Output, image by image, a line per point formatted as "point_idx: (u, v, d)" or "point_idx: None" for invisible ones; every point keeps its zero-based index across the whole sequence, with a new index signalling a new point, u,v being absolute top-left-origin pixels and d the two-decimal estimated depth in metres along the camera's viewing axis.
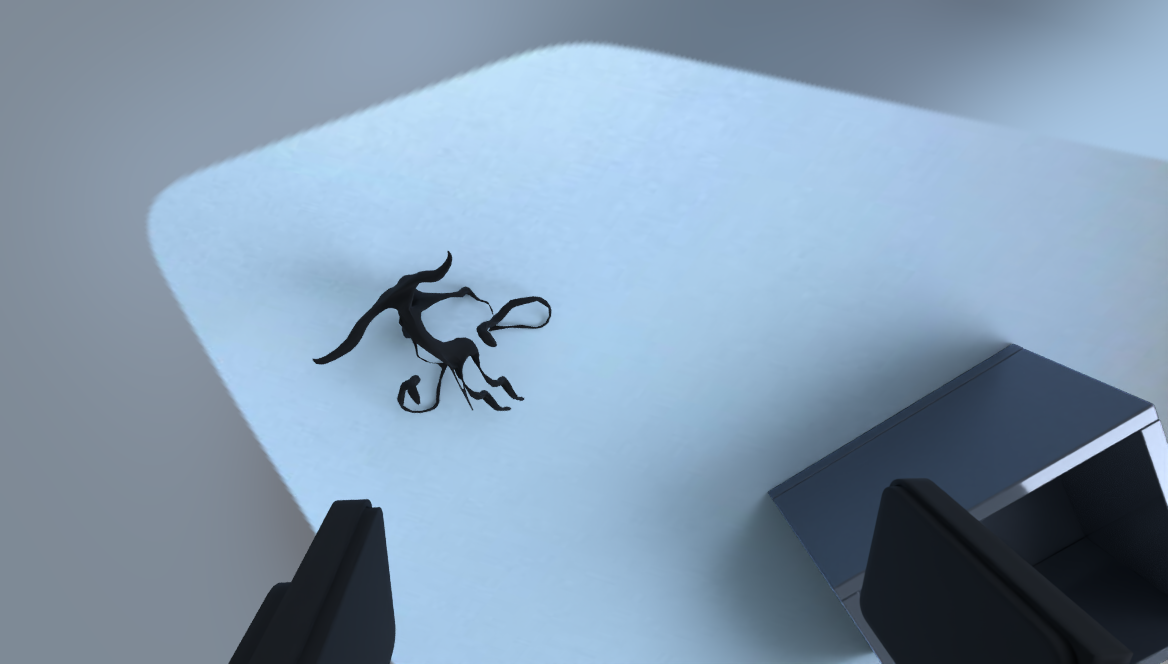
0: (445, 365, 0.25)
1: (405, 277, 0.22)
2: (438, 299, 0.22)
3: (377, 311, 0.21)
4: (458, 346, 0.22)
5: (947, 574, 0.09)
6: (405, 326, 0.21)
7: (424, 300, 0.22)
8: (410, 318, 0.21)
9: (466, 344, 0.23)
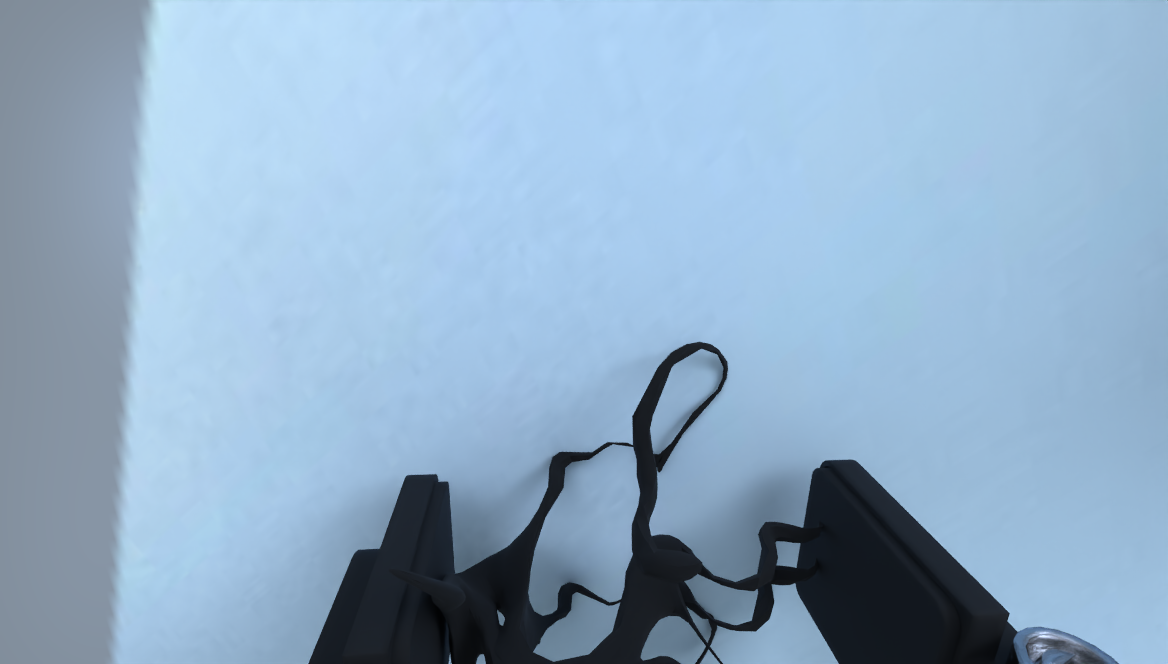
0: None
1: None
2: (528, 555, 0.10)
3: None
4: (642, 593, 0.09)
5: (862, 547, 0.09)
6: None
7: (511, 581, 0.10)
8: None
9: None
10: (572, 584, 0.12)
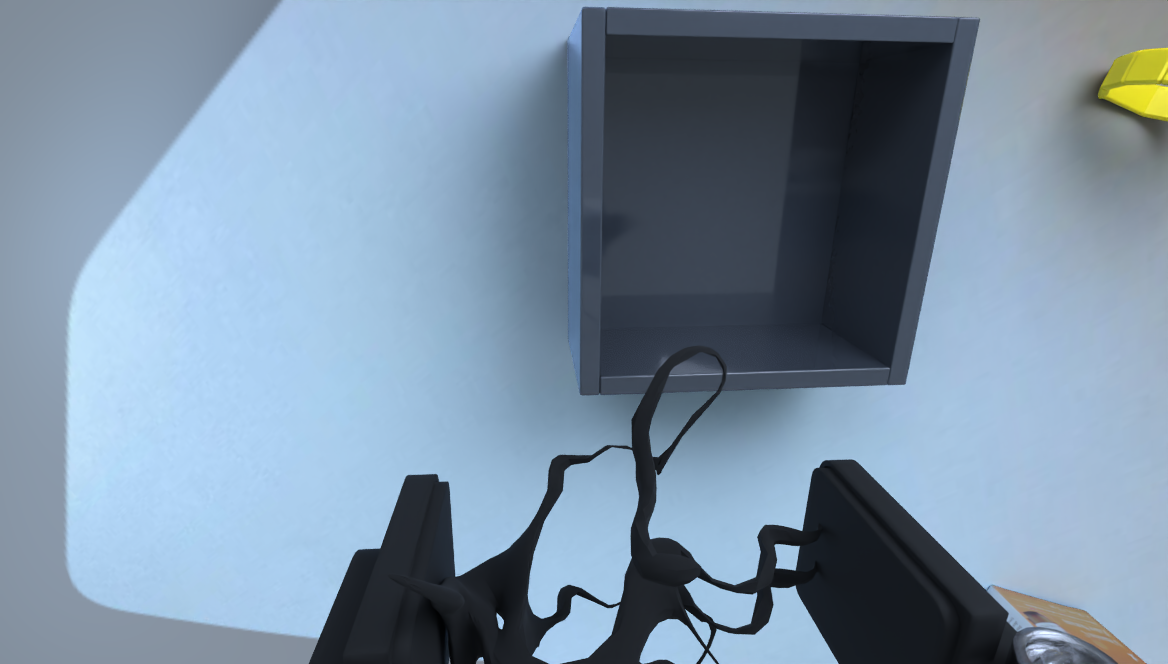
0: None
1: None
2: (528, 558, 0.10)
3: None
4: (641, 596, 0.09)
5: (861, 547, 0.09)
6: None
7: (511, 585, 0.10)
8: None
9: None
10: (572, 587, 0.12)
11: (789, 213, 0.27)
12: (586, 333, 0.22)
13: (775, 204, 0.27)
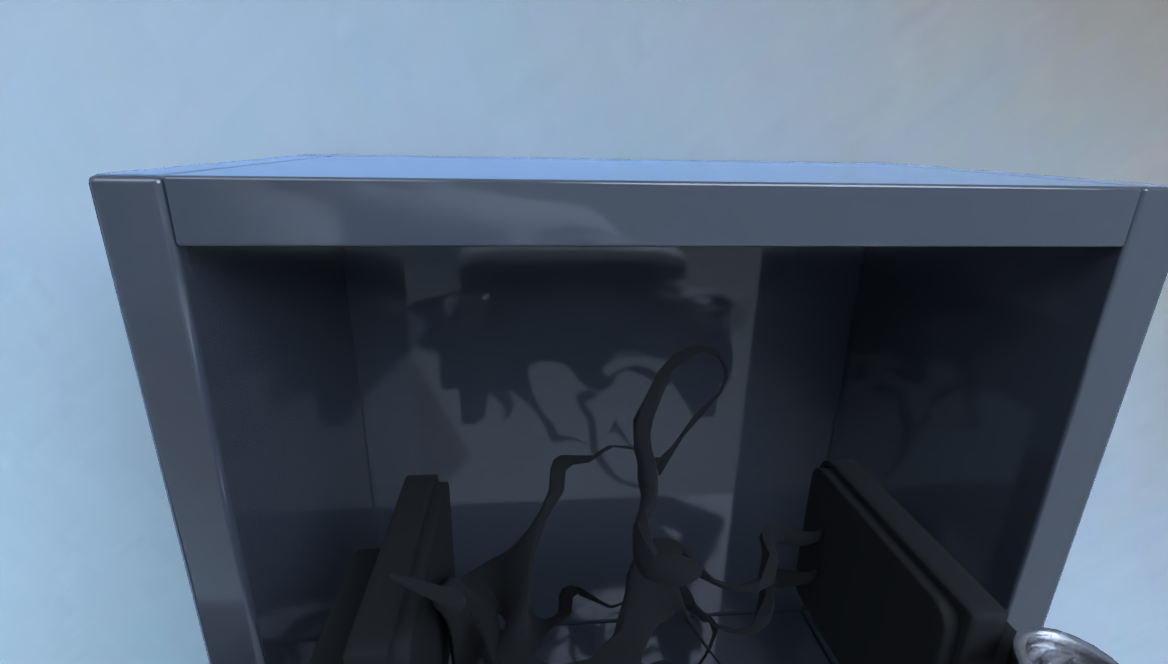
0: None
1: None
2: (529, 558, 0.10)
3: None
4: (643, 596, 0.09)
5: (861, 547, 0.09)
6: None
7: (512, 585, 0.10)
8: None
9: None
10: (573, 587, 0.12)
11: (744, 450, 0.15)
12: None
13: (719, 437, 0.15)
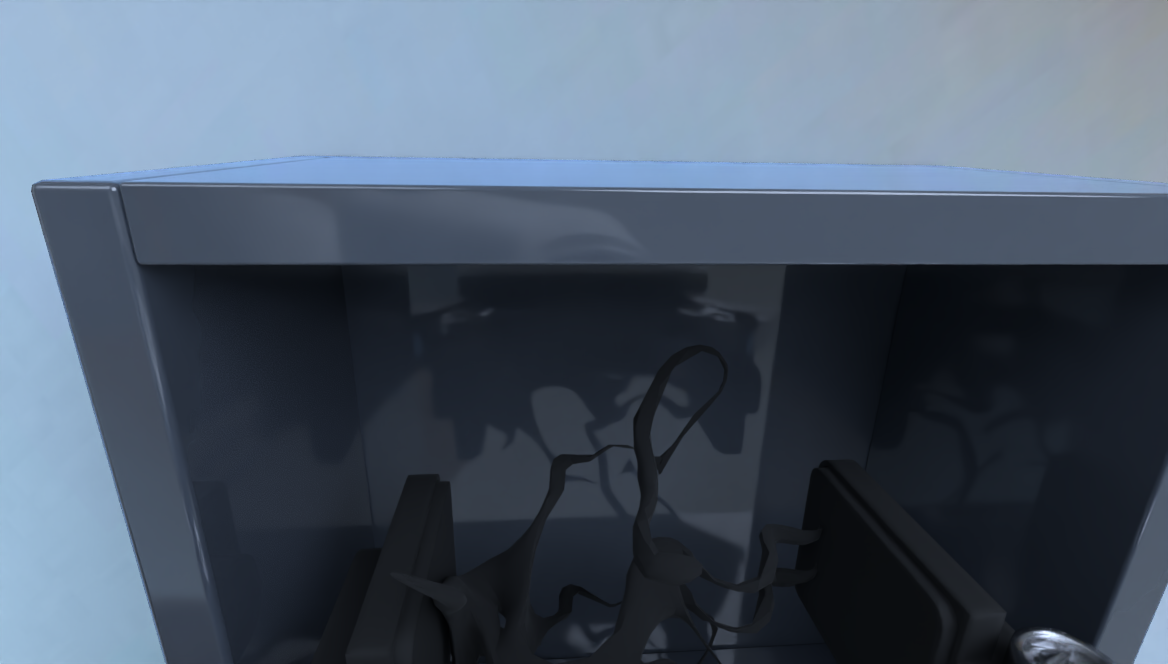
0: None
1: None
2: (529, 557, 0.10)
3: None
4: (642, 594, 0.09)
5: (860, 547, 0.09)
6: None
7: (512, 584, 0.10)
8: None
9: None
10: (573, 586, 0.12)
11: (772, 473, 0.14)
12: None
13: (745, 459, 0.14)
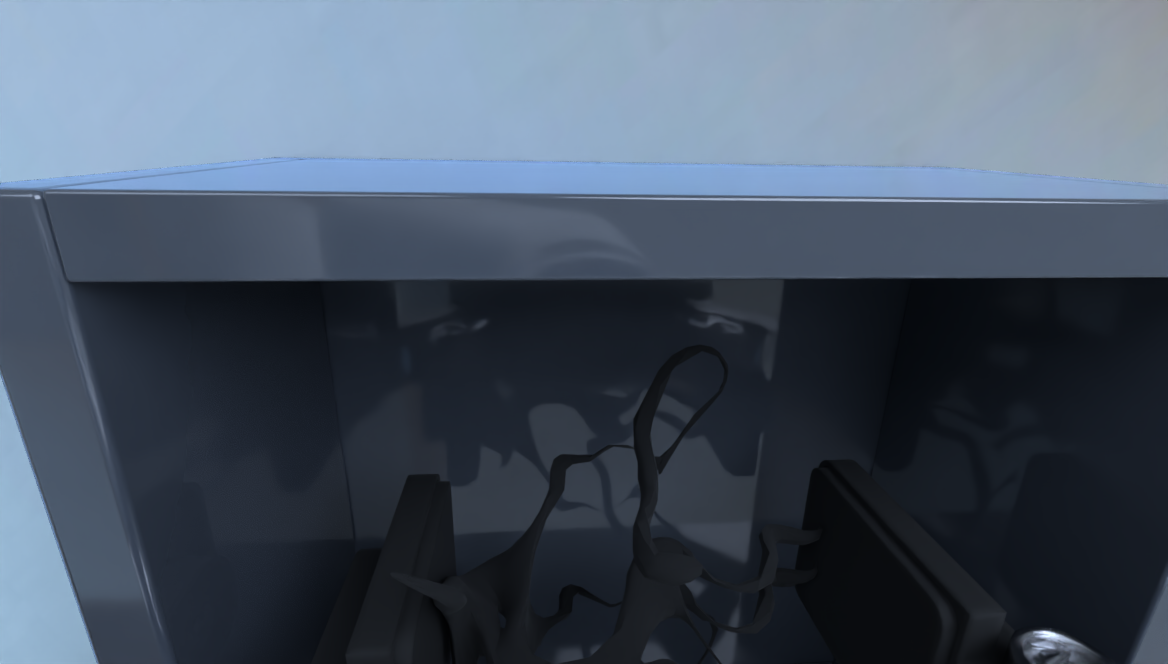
0: None
1: None
2: (530, 557, 0.10)
3: None
4: (643, 595, 0.09)
5: (859, 547, 0.09)
6: None
7: (513, 584, 0.10)
8: None
9: None
10: (573, 586, 0.12)
11: (773, 488, 0.14)
12: None
13: (745, 474, 0.13)
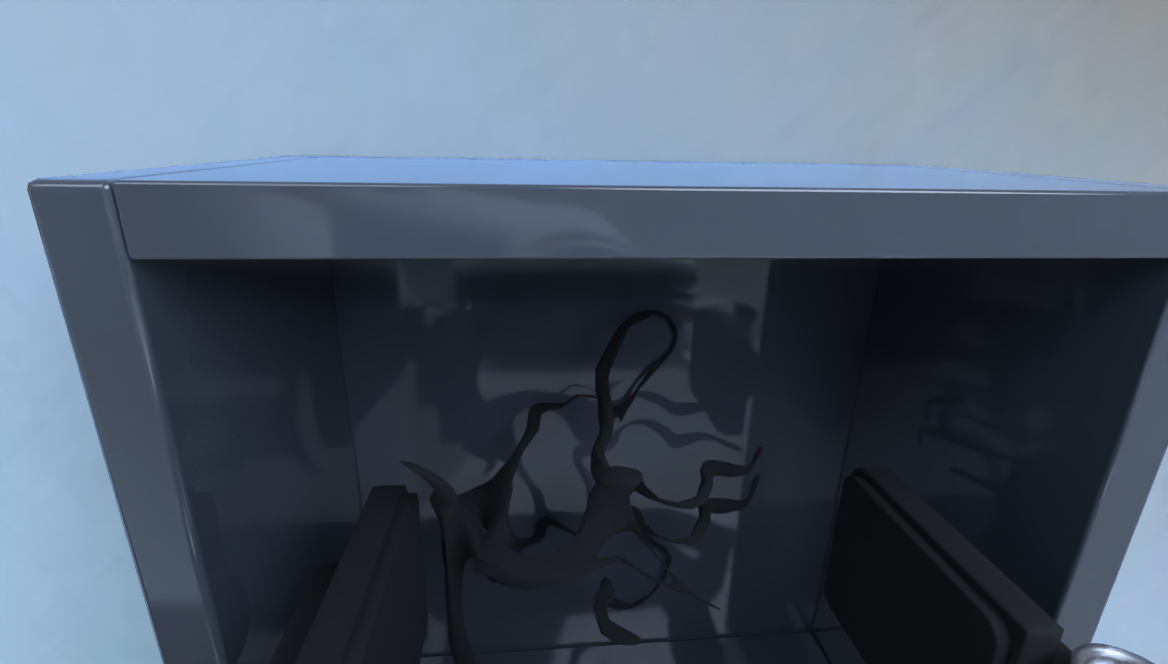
0: None
1: None
2: (508, 480, 0.12)
3: (455, 588, 0.11)
4: (601, 510, 0.12)
5: (900, 559, 0.09)
6: (501, 582, 0.11)
7: (494, 501, 0.12)
8: (493, 567, 0.10)
9: (609, 489, 0.12)
10: (547, 518, 0.14)
11: (754, 466, 0.15)
12: None
13: (727, 452, 0.14)
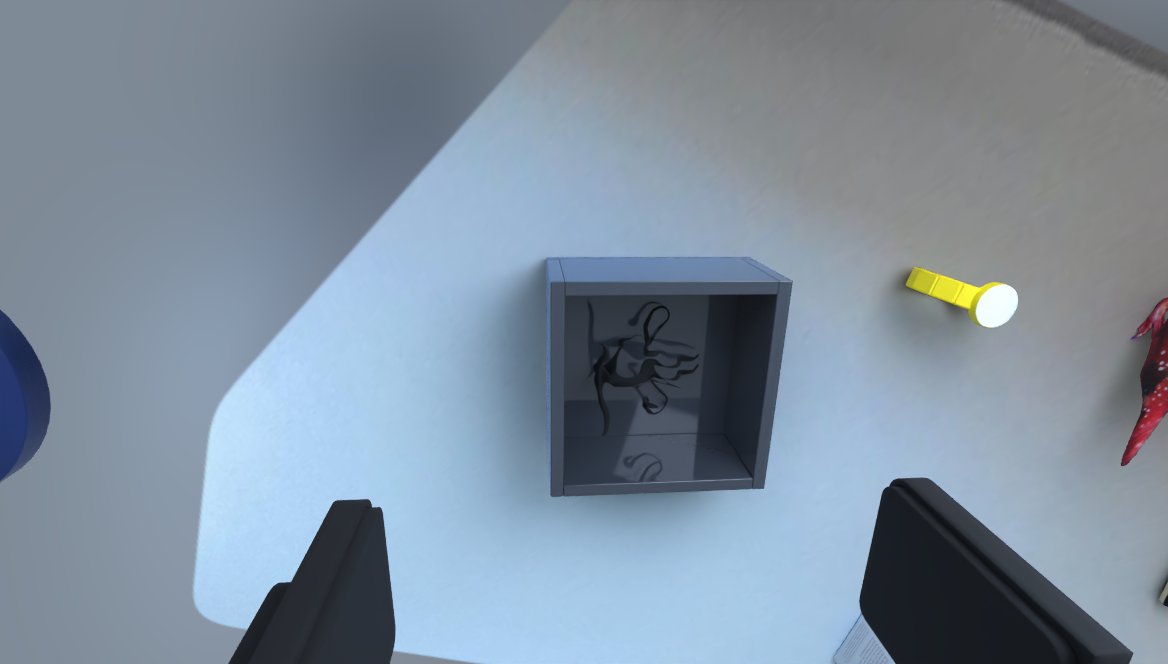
0: None
1: (594, 366, 0.37)
2: (616, 359, 0.37)
3: (601, 391, 0.37)
4: (645, 368, 0.37)
5: (947, 574, 0.09)
6: (617, 385, 0.36)
7: (611, 366, 0.37)
8: (615, 380, 0.36)
9: (647, 363, 0.37)
10: None
11: (697, 362, 0.40)
12: (554, 460, 0.35)
13: None
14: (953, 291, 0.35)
